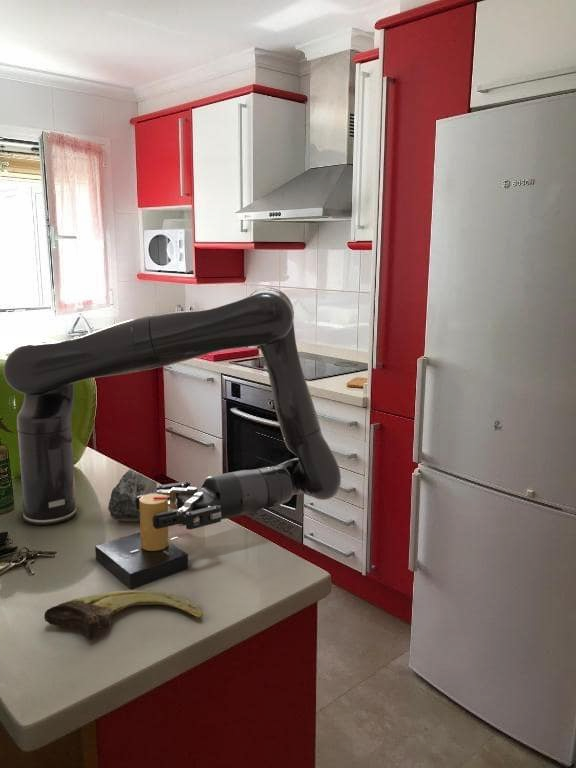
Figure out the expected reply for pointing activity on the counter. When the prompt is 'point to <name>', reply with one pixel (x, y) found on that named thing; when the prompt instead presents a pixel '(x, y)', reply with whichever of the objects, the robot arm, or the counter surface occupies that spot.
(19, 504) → the counter surface
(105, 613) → the claw
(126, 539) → the panel
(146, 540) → the tan cylinder
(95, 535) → the counter surface
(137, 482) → the stone
